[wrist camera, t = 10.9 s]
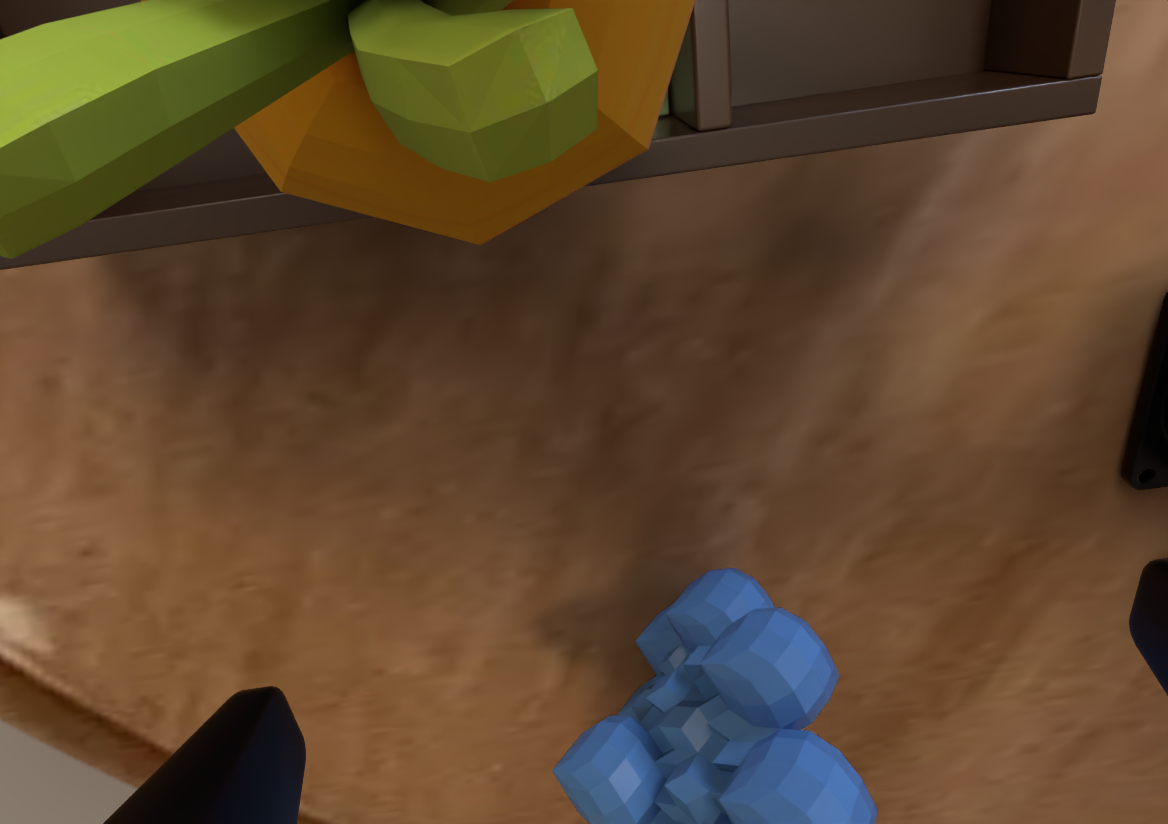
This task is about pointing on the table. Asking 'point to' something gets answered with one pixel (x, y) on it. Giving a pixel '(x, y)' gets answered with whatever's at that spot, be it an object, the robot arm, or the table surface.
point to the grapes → (720, 722)
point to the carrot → (335, 104)
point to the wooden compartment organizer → (698, 102)
